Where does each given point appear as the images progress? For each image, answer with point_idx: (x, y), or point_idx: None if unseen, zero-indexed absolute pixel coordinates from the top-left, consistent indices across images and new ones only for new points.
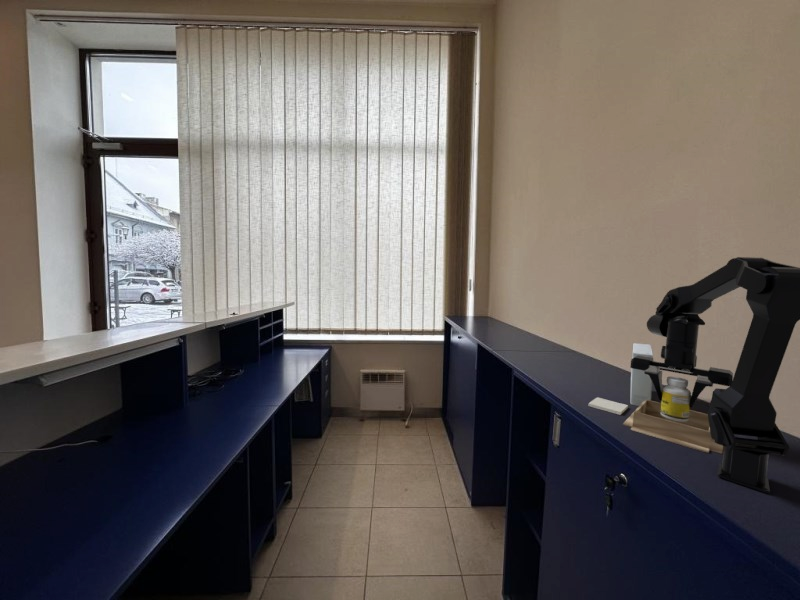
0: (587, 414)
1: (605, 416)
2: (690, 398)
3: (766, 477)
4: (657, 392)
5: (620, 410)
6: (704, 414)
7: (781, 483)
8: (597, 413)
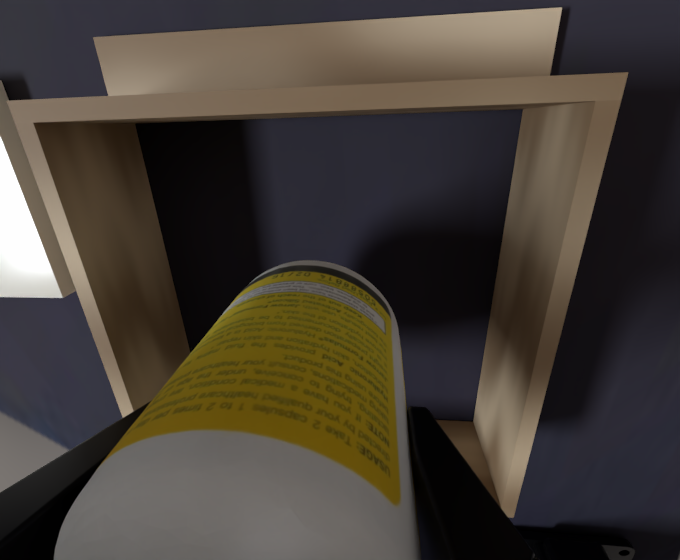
0: (16, 407)
1: (62, 371)
2: (415, 501)
3: (631, 553)
4: None
5: (41, 267)
6: (525, 101)
7: (670, 528)
8: (20, 360)
